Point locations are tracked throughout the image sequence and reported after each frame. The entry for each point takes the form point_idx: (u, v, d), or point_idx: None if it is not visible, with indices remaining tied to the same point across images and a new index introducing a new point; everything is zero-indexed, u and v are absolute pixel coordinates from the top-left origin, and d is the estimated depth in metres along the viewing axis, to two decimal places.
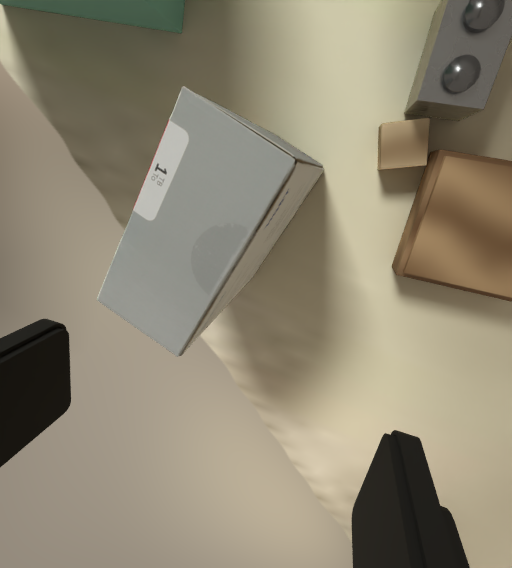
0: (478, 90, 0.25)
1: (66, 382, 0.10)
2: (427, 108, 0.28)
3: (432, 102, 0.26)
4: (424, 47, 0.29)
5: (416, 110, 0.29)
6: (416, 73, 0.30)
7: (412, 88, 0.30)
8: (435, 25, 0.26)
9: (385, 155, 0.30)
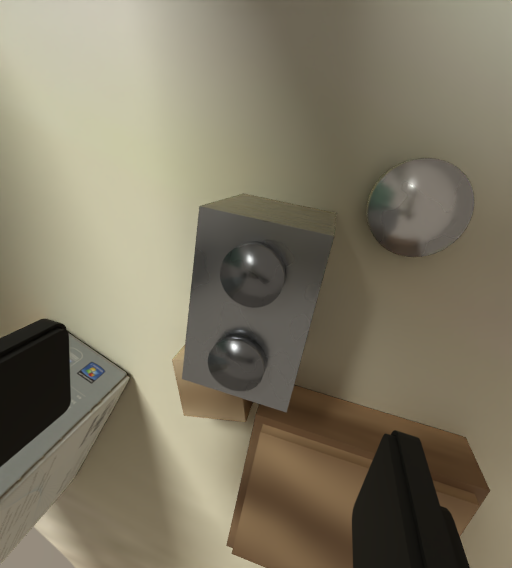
0: (273, 385, 0.14)
1: (66, 382, 0.10)
2: None
3: (208, 384, 0.15)
4: None
5: None
6: None
7: None
8: None
9: (185, 399, 0.19)
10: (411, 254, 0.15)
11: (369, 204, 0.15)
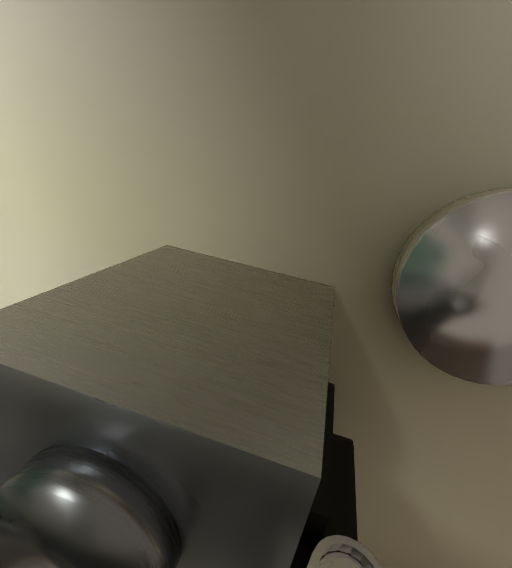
0: None
1: None
2: None
3: None
4: None
5: None
6: None
7: None
8: None
9: None
10: (485, 379, 0.08)
11: (401, 278, 0.07)
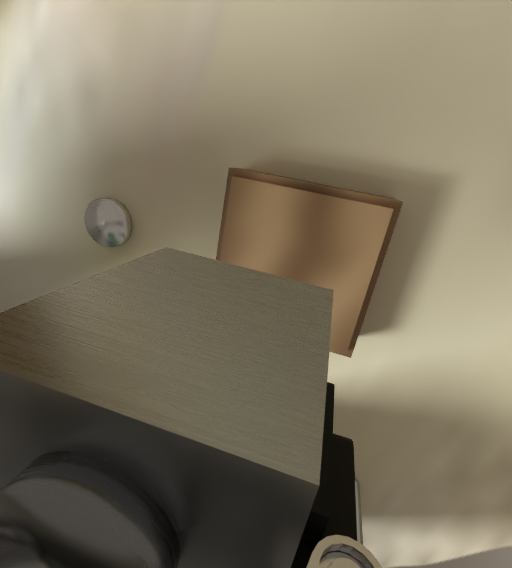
0: None
1: None
2: None
3: None
4: None
5: None
6: None
7: None
8: None
9: None
10: (124, 224, 0.29)
11: (106, 245, 0.31)
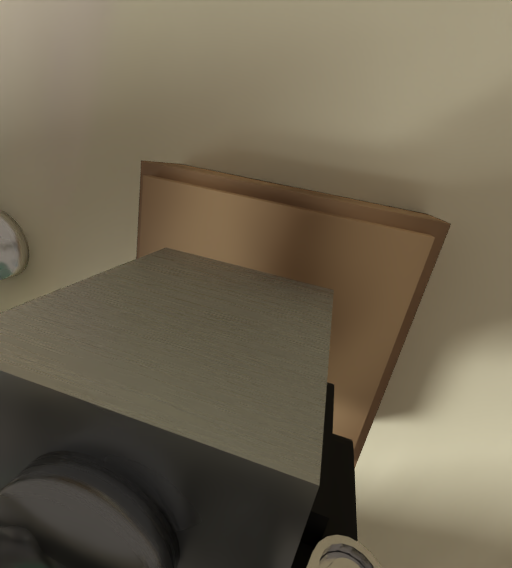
0: None
1: None
2: None
3: None
4: None
5: None
6: None
7: None
8: None
9: None
10: (12, 248, 0.20)
11: None
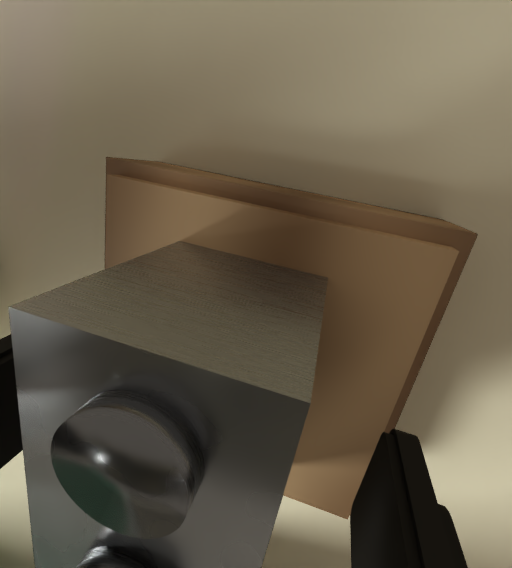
0: None
1: None
2: None
3: None
4: None
5: None
6: None
7: None
8: None
9: None
10: None
11: None
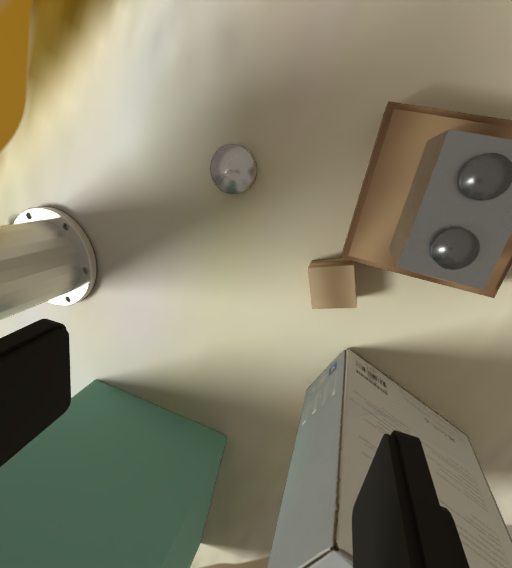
0: (476, 267, 0.19)
1: (65, 382, 0.10)
2: None
3: (417, 272, 0.20)
4: (414, 179, 0.23)
5: None
6: (404, 207, 0.24)
7: (398, 225, 0.24)
8: (425, 170, 0.20)
9: (342, 304, 0.29)
10: (252, 170, 0.30)
11: (229, 192, 0.31)
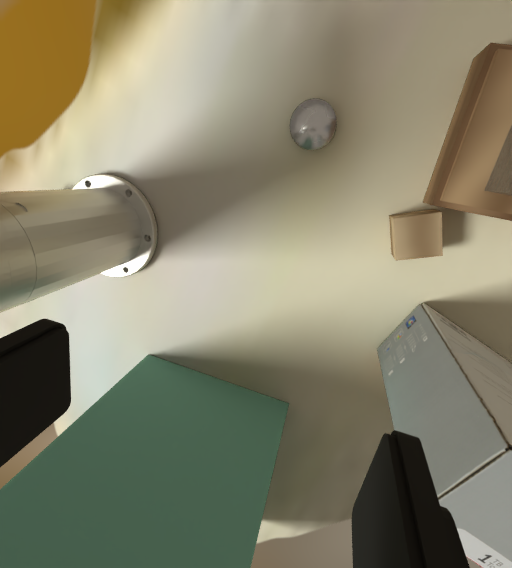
0: None
1: (66, 382, 0.10)
2: None
3: None
4: None
5: (505, 193, 0.24)
6: (504, 147, 0.25)
7: (498, 165, 0.25)
8: None
9: (427, 253, 0.30)
10: (334, 124, 0.30)
11: (308, 148, 0.32)
